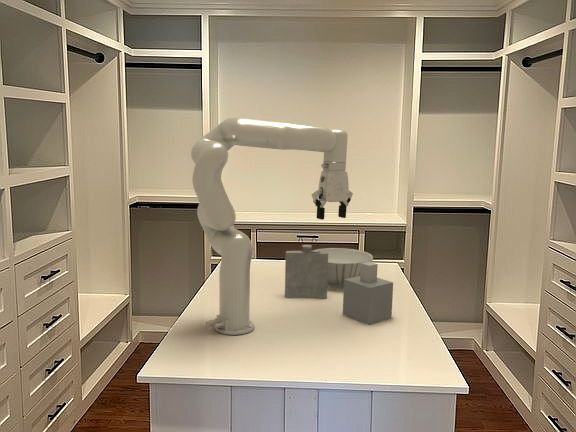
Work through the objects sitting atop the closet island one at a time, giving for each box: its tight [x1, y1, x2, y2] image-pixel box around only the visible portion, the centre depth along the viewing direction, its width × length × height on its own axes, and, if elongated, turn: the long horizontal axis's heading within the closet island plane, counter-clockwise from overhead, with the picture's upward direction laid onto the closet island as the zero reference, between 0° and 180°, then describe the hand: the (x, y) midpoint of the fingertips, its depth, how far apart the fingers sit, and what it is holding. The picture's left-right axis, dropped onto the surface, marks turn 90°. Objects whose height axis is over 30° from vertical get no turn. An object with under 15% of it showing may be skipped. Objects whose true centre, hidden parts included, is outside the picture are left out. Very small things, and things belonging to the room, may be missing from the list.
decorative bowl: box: [314, 247, 374, 289], centre depth 232 cm, size 27×27×12 cm
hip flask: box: [284, 244, 328, 300], centre depth 212 cm, size 16×4×20 cm, turn 89°
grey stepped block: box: [342, 261, 394, 326], centre depth 192 cm, size 11×12×19 cm
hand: (331, 218), depth 190 cm, fingers open, 9 cm apart
